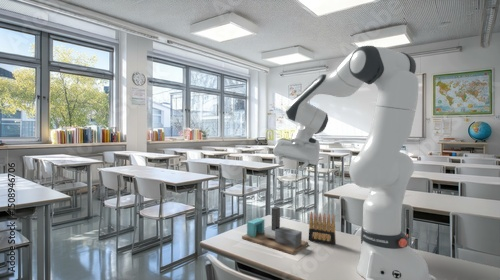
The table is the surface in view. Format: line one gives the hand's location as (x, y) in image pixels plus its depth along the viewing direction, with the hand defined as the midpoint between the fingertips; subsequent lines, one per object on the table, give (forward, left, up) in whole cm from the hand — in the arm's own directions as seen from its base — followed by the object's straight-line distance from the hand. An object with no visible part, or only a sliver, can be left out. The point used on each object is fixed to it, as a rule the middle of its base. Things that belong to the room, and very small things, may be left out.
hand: (290, 167), depth 125 cm
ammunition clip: (-13, -3, -30) cm, 33 cm away
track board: (+2, +9, -30) cm, 31 cm away
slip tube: (-2, +9, -28) cm, 29 cm away
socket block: (+11, +9, -30) cm, 33 cm away
